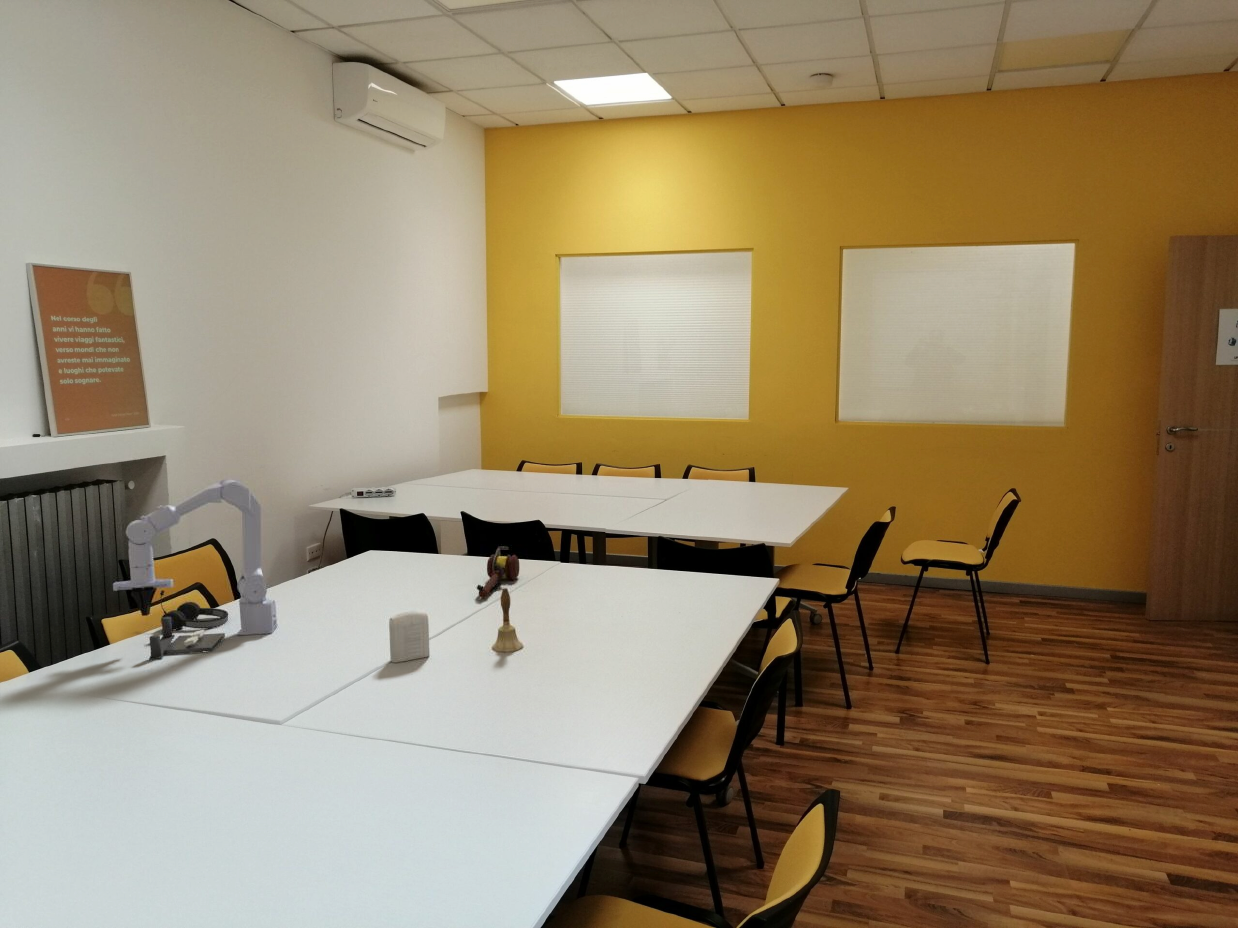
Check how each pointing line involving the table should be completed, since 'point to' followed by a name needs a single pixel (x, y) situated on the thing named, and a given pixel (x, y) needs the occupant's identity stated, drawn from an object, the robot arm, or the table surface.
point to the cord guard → (160, 645)
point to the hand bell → (506, 629)
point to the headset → (194, 616)
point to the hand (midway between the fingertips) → (145, 614)
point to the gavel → (499, 571)
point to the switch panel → (202, 644)
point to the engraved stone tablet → (409, 636)
